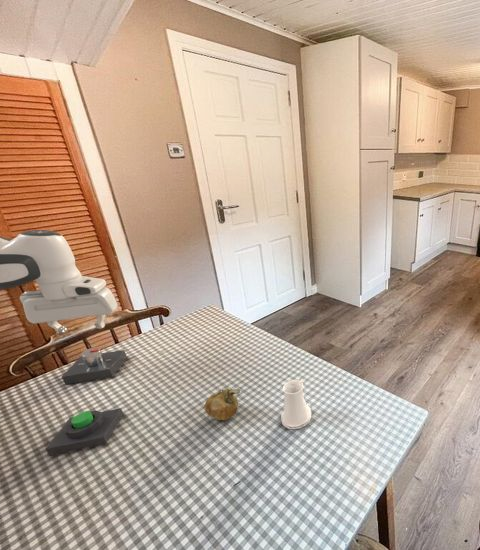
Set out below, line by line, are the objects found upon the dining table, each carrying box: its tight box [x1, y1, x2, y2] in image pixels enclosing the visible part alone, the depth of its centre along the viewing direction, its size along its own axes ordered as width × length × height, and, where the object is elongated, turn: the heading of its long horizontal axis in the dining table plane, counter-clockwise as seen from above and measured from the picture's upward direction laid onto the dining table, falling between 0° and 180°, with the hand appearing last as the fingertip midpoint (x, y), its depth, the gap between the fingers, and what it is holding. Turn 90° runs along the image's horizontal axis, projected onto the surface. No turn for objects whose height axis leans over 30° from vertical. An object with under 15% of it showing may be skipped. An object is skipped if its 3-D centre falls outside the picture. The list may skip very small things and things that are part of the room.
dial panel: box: [61, 349, 128, 386], centre depth 94 cm, size 12×10×3 cm
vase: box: [280, 379, 312, 430], centre depth 76 cm, size 8×8×10 cm
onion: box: [204, 387, 242, 421], centre depth 77 cm, size 8×8×8 cm
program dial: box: [80, 346, 104, 367], centre depth 93 cm, size 4×4×4 cm
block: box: [45, 407, 124, 456], centre depth 73 cm, size 11×9×4 cm
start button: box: [71, 410, 94, 429], centre depth 72 cm, size 4×4×2 cm
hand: (82, 330), depth 89 cm, fingers open, 8 cm apart
